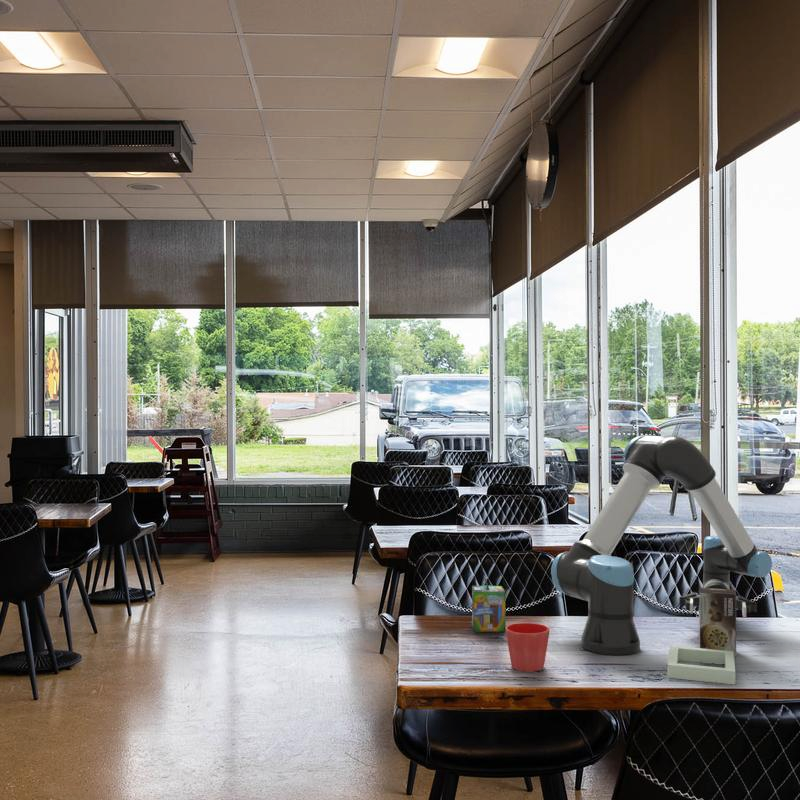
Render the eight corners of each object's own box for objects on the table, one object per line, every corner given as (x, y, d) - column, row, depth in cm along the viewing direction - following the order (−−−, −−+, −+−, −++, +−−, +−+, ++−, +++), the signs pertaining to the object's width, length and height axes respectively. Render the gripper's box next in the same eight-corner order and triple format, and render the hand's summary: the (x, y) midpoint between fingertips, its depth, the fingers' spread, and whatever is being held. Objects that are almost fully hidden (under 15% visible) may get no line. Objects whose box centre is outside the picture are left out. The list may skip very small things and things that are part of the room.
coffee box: (735, 650, 235) (736, 589, 235) (736, 657, 229) (737, 594, 229) (699, 647, 238) (699, 586, 238) (698, 653, 232) (699, 591, 232)
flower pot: (496, 667, 218) (496, 627, 218) (522, 658, 226) (522, 620, 226) (532, 677, 211) (532, 635, 211) (558, 667, 219) (558, 627, 219)
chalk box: (505, 632, 252) (506, 580, 252) (473, 632, 252) (473, 579, 252) (502, 624, 261) (503, 573, 261) (471, 624, 261) (471, 573, 261)
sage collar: (667, 677, 211) (667, 664, 211) (670, 657, 228) (670, 645, 228) (735, 684, 207) (735, 671, 207) (733, 663, 224) (733, 651, 224)
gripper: (762, 611, 258) (767, 628, 238) (672, 604, 266) (669, 620, 246) (762, 585, 258) (767, 600, 238) (672, 578, 266) (669, 592, 246)
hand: (717, 610), depth 242 cm, fingers open, 13 cm apart
